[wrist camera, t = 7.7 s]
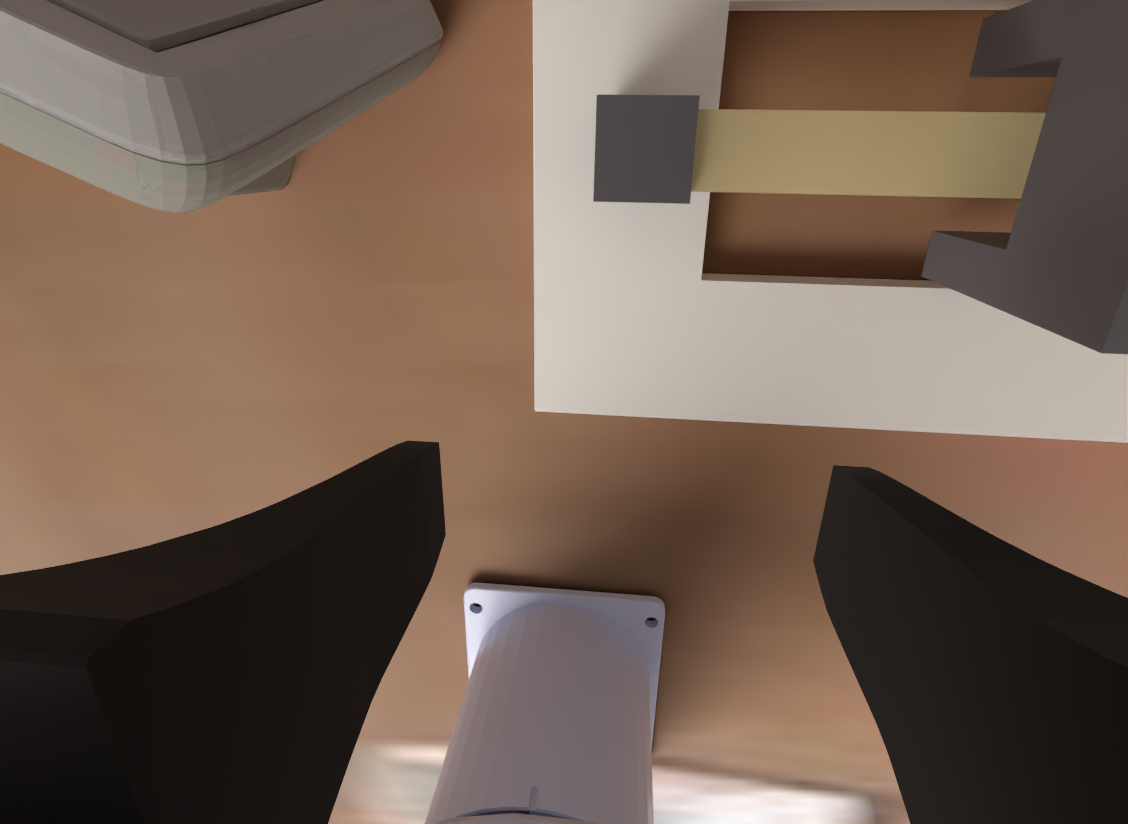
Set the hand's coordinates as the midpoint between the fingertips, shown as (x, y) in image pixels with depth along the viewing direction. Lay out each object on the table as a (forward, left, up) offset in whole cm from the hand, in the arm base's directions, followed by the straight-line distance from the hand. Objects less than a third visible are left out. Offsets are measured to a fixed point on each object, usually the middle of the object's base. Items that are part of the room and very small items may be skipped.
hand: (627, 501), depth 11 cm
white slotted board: (+5, -7, -10) cm, 13 cm away
